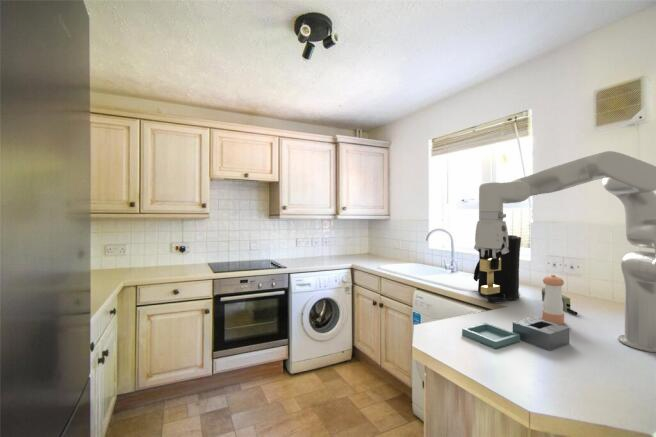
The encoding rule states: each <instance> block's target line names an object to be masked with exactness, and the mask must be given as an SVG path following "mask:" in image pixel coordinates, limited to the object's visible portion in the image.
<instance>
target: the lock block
mask: <svg viewBox="0 0 656 437" xmlns="http://www.w3.org/2000/svg"><path fill="white" fill-rule="evenodd" d="M512 332H513V333H516V334H519V335H520V342H521V341H522V342H523V343H527V344H529V345H532V346H534V347H537V348H540V349H543V350H546V351H548V350H549V351H548V352H550V351H554V350H556V349H559V348H562V347H564V346H568V345H570V327H569V326H565V325H562V324H554V323H551V322H547V321H544V320H543V319H540V318H536V317H534V316H533V317H528V318H524V319H521V320H515V321H512ZM553 349H554V350H553Z"/></svg>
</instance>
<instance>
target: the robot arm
mask: <svg viewBox="0 0 656 437" xmlns="http://www.w3.org/2000/svg"><path fill="white" fill-rule="evenodd" d="M601 179H602V186H603V187H604V189H605V190H606V191H607V192H608V193H609V194H612V195H614V196H615V197H616V198H617V199H619V201H621V203H622V204H623V208H624V214H625V215H624V216H625V217H624V218H625V219H624V220H625V236H626V240H627V241H628V243H629V244H630V245H632V246H633V247H634V246H635V247H639V248H645V249H653V250H654V252H653V251H652V252H651V251H646V250H645V251H643V250H637V251H632V252H629V253H627V254H626V255H624V256H623V257H622V260H621V263H620V267H621V268H620V269H621V272H622V275H623V276H622V277H623V281H624V334H621V335H619V336H618V338H617V340H618V341H619V342H620V343H622V344H623V345H626V346H628V347H629V348H634V349H636V350H641V351H644V352H649V353H656V193H655V192H654V191H656V166H655V165H654V164H652V163H648V162H646V161H643V160H641V159H639V158H636V157H633V156H630V155H628V154H624V153H621V152H617V151H612V150H611V151H610V150H608V151H603V152H599V153H595V154H591V155H588V156H585V157H581V158H577V159H574V160H571V161H569V162H564V163H561V164H558V165H556V166H552V167H548V168H546V169H544V170H540V171H538V172H535V173H533V174H530V175H527V176H524V177H520V178H516V179H514V180H511V181H506V182H505V181H504V182H500V181H489V182H488V181H487V182H481V183H480V184H479V185H478V220H477V222H476V226H475V227H476V228H475V236H474V243H475V245H474V247H473V249H474V250H475V251H477V252H478V254H479V253H480V254H481V257H483V259H490V257H489V249H492V256H493V258H491V269H492V270H497V269H498V268H499V258H501V256H502V255H503V254H505V253H508V252H509V249H508V245H509V243H508V235H509V233H508V226H507V222H506V220H504V219H505V218H506V217H507V215H506V213H504V204H517V203H521V202H525V201H526V200H528V199H529V198H531V197H534V196H538V195H544V194H551V193H556V192H560V191H565V190H567V189H570V188H574V187H577V186H580V185H583V184H587V183H591V182H592V181H596V180H601ZM500 249H502V250H500Z"/></svg>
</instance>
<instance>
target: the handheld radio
mask: <svg viewBox="0 0 656 437" xmlns="http://www.w3.org/2000/svg"><path fill="white" fill-rule="evenodd" d="M561 296H562V302H563V312H565V313H571V314H573V315H575V316H577V315H578V312H577V311H575V310H574V309H571V297H568V296H566V295H564V294H561ZM544 297H545V287H542V288H541V300H542V302H544Z"/></svg>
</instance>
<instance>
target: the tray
mask: <svg viewBox="0 0 656 437" xmlns="http://www.w3.org/2000/svg"><path fill="white" fill-rule="evenodd" d="M461 335H462V336H463V337H465V338H468V339H470V340H473V341H474V340H475V342H477V343H479V342H480V343H479V344H483V345H484V346H487V347H489V348H491V349H494V350H498V349H501V348H505V347H509V346H512V345H514V344H518V343H520V342H521V340H520V335H519V334H516V333H513V331H510V330H507V329H505V328H501V327H499V326H496V325H494V324H490V323H487V322H484V323H480V324H476V325H475V324H474V325H471V326H468V327H463V328H462V329H461Z"/></svg>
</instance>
